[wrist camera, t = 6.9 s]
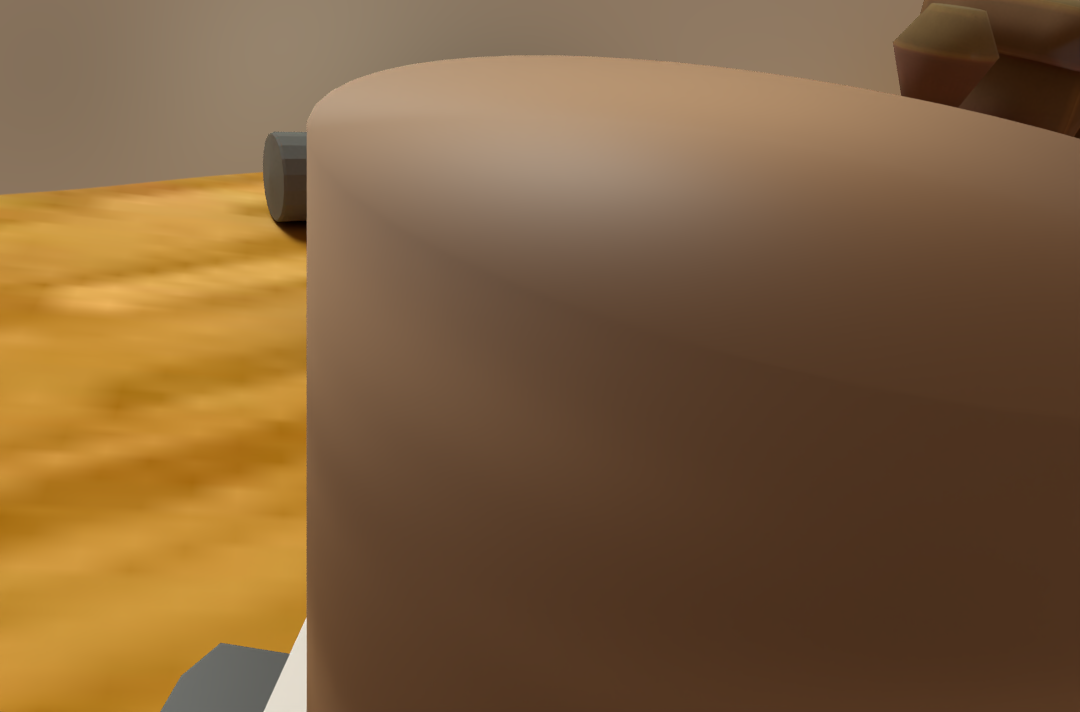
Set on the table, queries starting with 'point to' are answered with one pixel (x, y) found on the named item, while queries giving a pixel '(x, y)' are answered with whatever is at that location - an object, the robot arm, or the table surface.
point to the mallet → (286, 175)
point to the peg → (687, 395)
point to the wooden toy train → (996, 59)
